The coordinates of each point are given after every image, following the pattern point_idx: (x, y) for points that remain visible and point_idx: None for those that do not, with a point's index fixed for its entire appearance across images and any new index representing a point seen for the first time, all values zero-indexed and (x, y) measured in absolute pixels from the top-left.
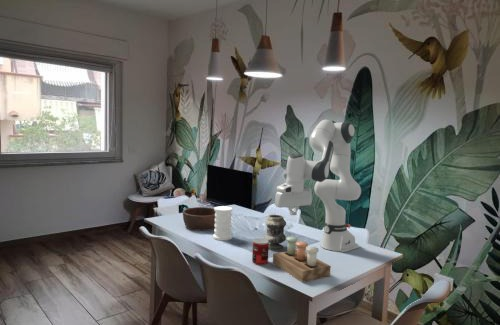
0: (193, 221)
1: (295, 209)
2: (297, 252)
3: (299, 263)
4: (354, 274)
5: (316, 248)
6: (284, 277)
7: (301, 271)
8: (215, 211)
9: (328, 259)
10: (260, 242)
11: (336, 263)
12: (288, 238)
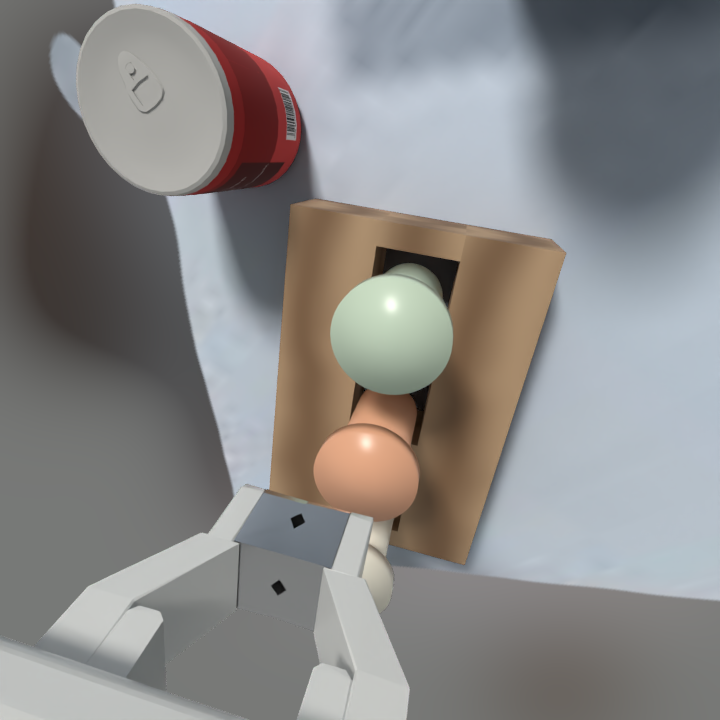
0: None
1: (330, 651)
2: (348, 423)
3: None
4: (602, 583)
5: (375, 601)
6: (250, 390)
7: None
8: None
9: None
10: (137, 132)
11: (694, 454)
12: (355, 321)
